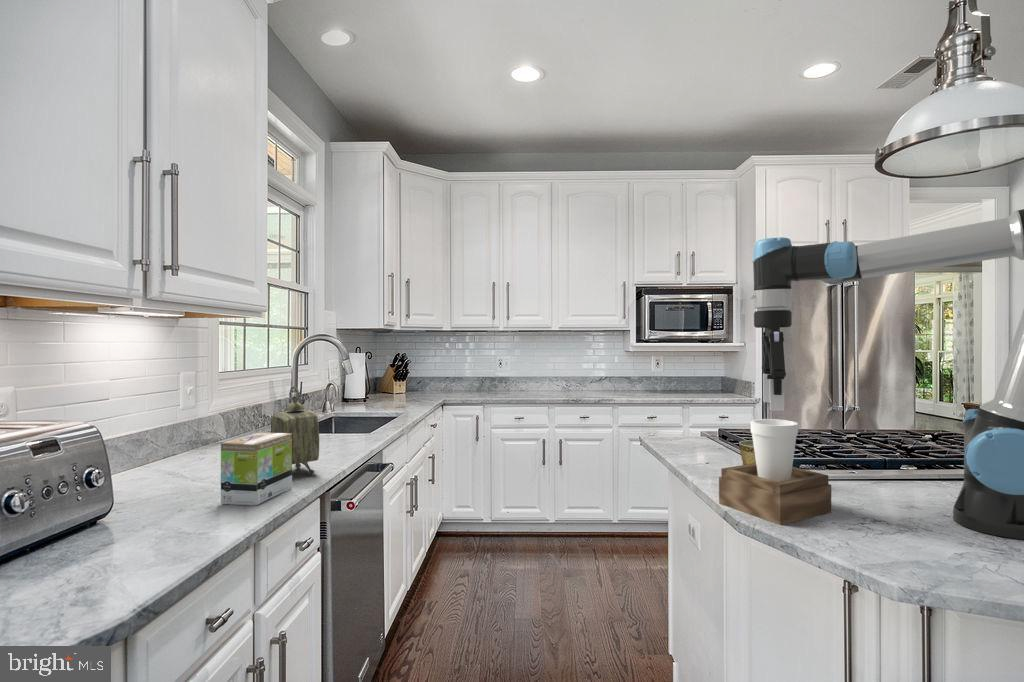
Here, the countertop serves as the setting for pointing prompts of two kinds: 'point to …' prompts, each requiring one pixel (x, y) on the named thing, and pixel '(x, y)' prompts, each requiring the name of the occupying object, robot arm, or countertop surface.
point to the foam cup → (774, 447)
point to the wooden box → (775, 494)
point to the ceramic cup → (747, 452)
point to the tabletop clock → (299, 431)
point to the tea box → (255, 468)
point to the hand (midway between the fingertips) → (773, 406)
